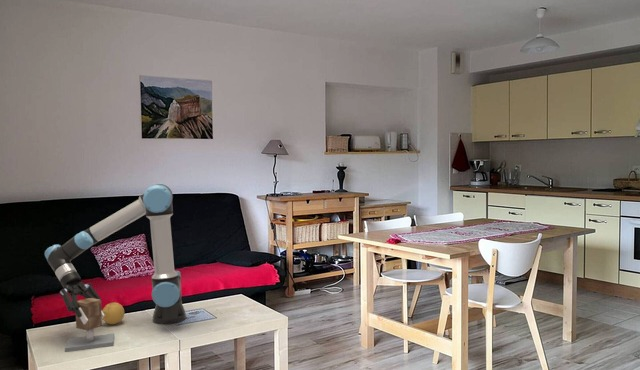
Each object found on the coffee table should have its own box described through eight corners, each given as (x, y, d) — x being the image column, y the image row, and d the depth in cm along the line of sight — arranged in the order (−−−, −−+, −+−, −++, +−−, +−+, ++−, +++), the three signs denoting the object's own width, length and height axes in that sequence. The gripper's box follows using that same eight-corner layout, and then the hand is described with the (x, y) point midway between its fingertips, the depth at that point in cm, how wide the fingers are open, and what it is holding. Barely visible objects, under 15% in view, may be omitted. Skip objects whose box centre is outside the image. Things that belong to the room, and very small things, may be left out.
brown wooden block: (91, 323, 226) (90, 297, 226) (101, 325, 223) (101, 299, 222) (76, 327, 220) (75, 301, 220) (87, 330, 217) (86, 303, 216)
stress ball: (123, 319, 255) (123, 298, 255) (125, 325, 247) (125, 303, 246) (101, 322, 251) (100, 301, 251) (102, 328, 242) (101, 306, 242)
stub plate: (114, 336, 230) (113, 318, 230) (113, 345, 219) (112, 326, 219) (68, 342, 224) (67, 323, 224) (65, 351, 213) (64, 332, 213)
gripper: (85, 277, 237) (110, 318, 229) (42, 287, 220) (68, 332, 212) (92, 266, 234) (118, 308, 226) (49, 275, 217) (76, 320, 209)
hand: (94, 319), depth 219 cm, fingers closed on brown wooden block, 7 cm apart
